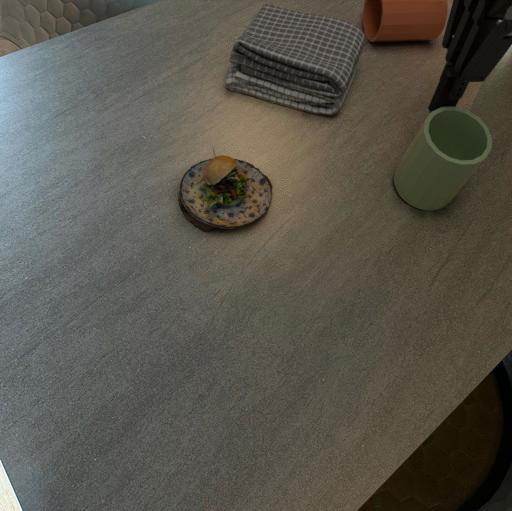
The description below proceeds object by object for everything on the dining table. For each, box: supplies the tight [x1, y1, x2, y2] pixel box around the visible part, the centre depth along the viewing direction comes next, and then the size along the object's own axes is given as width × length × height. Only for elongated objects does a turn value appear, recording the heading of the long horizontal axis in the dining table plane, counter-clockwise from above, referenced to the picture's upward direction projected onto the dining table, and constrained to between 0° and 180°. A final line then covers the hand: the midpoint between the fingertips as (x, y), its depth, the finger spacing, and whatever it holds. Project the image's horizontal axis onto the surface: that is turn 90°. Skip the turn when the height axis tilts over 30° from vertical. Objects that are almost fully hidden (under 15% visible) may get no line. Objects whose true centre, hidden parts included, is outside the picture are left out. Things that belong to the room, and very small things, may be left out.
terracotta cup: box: [362, 0, 449, 43], centre depth 102 cm, size 8×8×11 cm
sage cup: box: [393, 106, 493, 212], centre depth 80 cm, size 8×8×11 cm
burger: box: [178, 145, 274, 232], centre depth 77 cm, size 12×12×8 cm
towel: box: [224, 4, 368, 116], centre depth 93 cm, size 15×18×8 cm
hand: (439, 111), depth 78 cm, fingers closed
